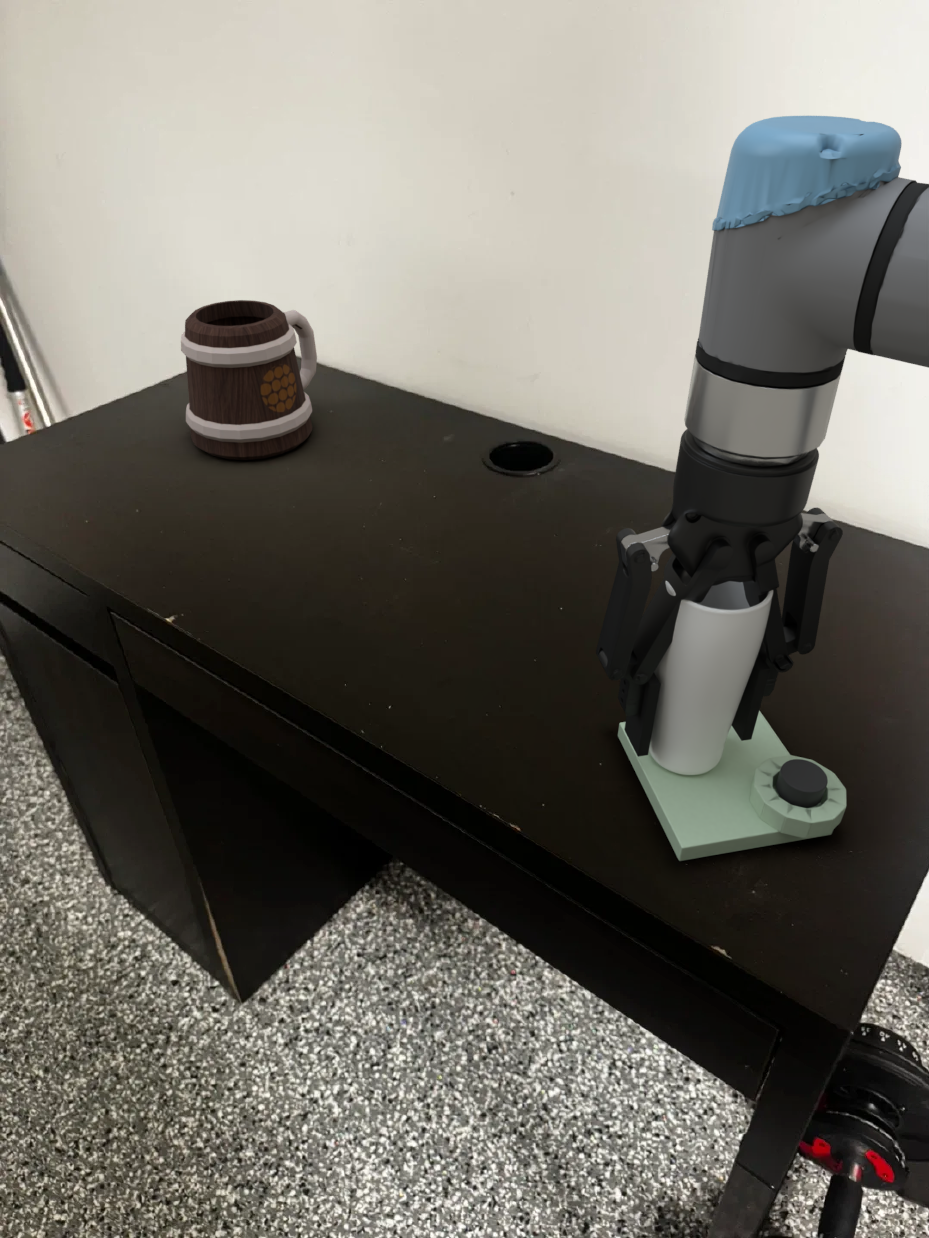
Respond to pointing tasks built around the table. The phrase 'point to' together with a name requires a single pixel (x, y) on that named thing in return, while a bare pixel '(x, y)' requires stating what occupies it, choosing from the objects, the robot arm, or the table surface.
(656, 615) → the robot arm
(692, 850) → the scale
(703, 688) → the drinking glass
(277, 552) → the table surface
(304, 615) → the table surface
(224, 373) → the mug
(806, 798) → the button
